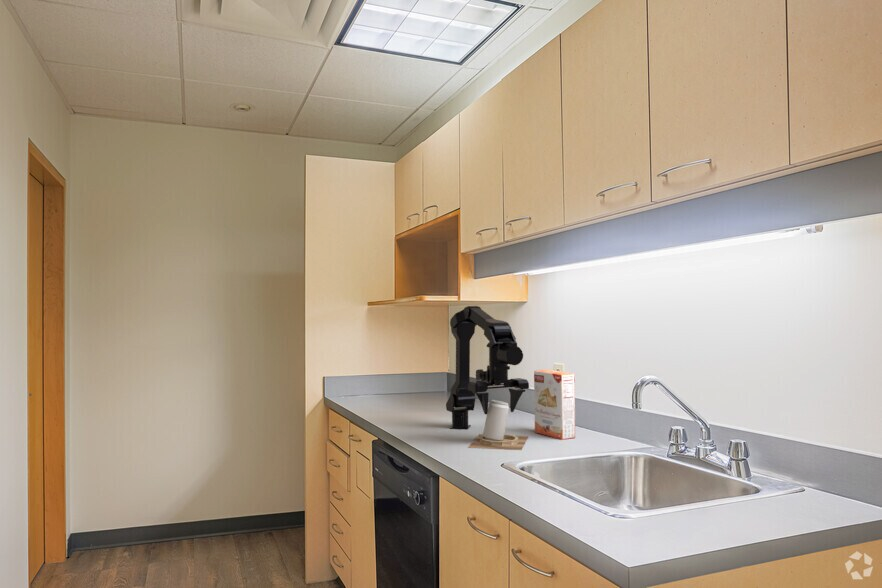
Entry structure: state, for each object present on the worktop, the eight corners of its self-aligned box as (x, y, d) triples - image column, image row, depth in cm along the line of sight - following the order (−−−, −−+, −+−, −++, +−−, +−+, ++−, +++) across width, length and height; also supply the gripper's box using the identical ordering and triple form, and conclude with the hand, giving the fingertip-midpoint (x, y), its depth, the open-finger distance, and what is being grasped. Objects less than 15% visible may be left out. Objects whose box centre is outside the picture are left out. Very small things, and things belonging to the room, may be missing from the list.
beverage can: (478, 437, 199) (486, 399, 200) (487, 436, 205) (494, 398, 205) (497, 443, 196) (505, 404, 196) (505, 441, 202) (513, 403, 202)
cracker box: (533, 433, 216) (532, 370, 216) (547, 431, 219) (547, 368, 219) (561, 440, 203) (560, 373, 204) (576, 438, 207) (575, 372, 207)
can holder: (479, 435, 212) (479, 430, 212) (528, 437, 209) (528, 432, 209) (467, 448, 193) (467, 443, 193) (521, 451, 189) (521, 445, 189)
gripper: (511, 359, 212) (512, 407, 212) (460, 361, 205) (460, 411, 204) (529, 362, 202) (530, 412, 202) (475, 364, 194) (476, 417, 194)
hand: (499, 413), depth 201 cm, fingers open, 9 cm apart
